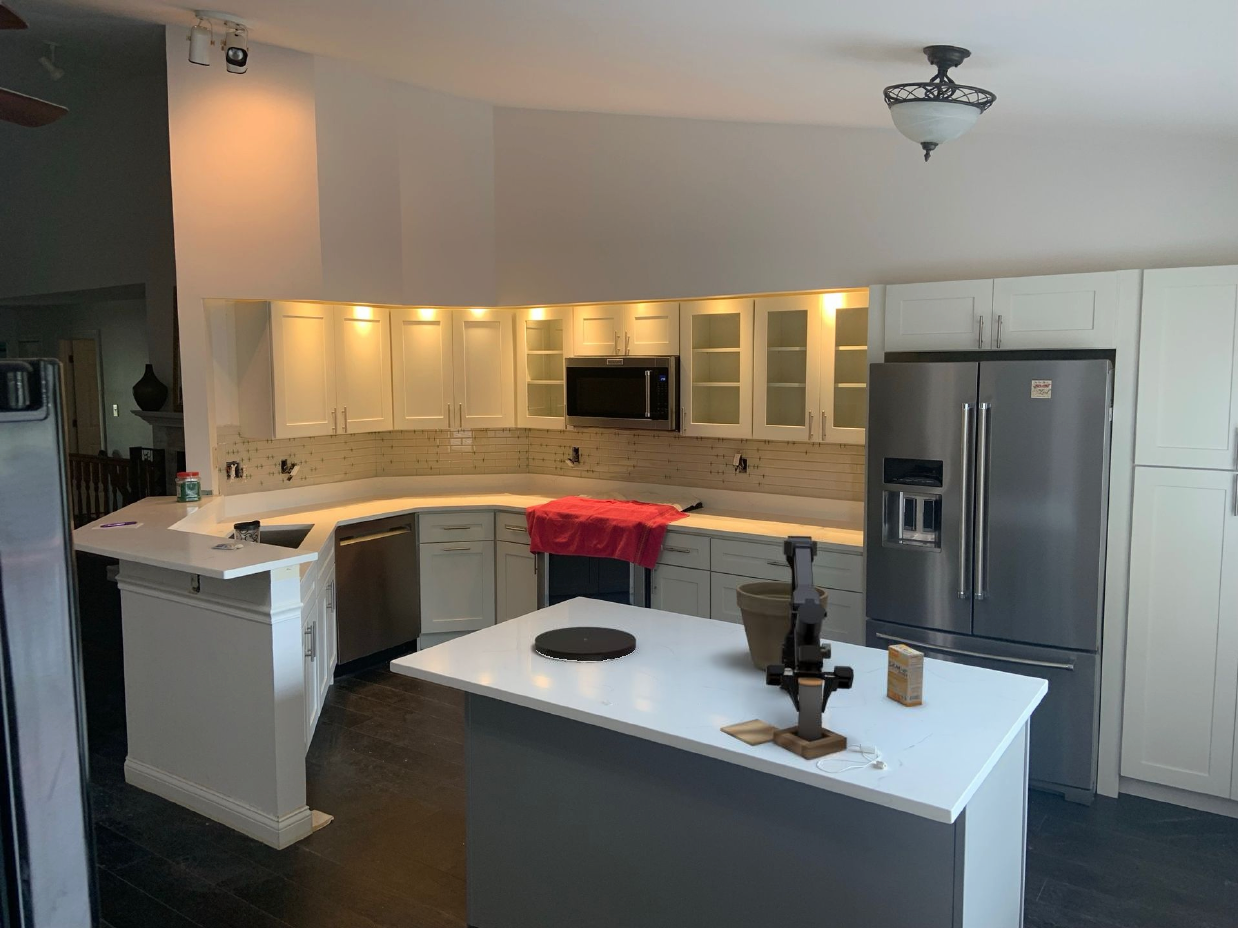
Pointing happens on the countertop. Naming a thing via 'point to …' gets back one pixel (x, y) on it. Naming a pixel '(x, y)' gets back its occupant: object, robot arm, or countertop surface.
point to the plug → (810, 709)
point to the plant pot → (767, 617)
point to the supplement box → (905, 675)
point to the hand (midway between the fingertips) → (810, 711)
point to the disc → (585, 643)
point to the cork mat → (751, 731)
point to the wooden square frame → (810, 749)
